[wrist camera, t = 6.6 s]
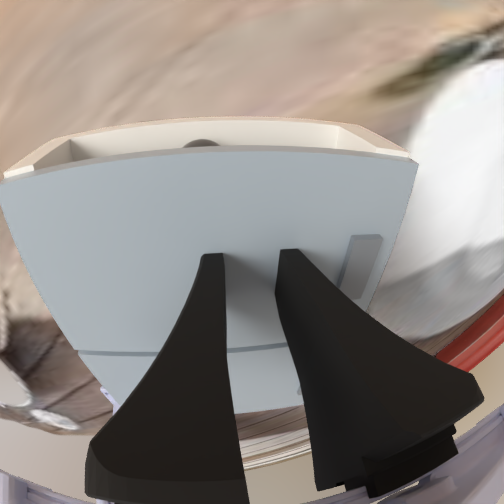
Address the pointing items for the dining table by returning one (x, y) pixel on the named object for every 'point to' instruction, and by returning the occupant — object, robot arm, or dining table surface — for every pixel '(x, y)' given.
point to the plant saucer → (476, 340)
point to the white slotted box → (204, 138)
